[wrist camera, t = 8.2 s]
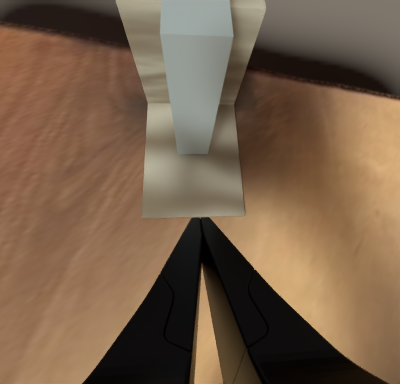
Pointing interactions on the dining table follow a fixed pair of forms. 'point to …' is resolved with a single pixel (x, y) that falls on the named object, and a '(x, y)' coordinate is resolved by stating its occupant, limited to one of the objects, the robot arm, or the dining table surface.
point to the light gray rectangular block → (195, 66)
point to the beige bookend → (164, 129)
